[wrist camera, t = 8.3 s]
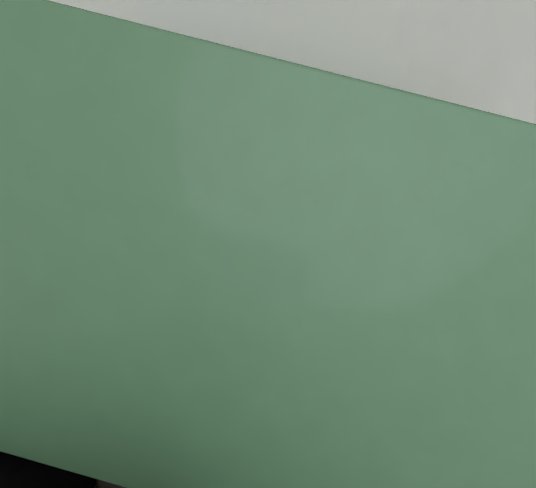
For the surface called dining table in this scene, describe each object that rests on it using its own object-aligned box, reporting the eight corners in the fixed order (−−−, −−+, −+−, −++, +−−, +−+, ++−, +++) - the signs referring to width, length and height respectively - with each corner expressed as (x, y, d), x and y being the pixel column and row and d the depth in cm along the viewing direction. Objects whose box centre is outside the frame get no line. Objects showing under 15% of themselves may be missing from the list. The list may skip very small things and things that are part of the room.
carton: (342, 496, 13) (391, 845, 7) (55, 414, 14) (-189, 665, 7) (467, 172, 10) (798, 181, 4) (97, 76, 11) (-260, -86, 4)
